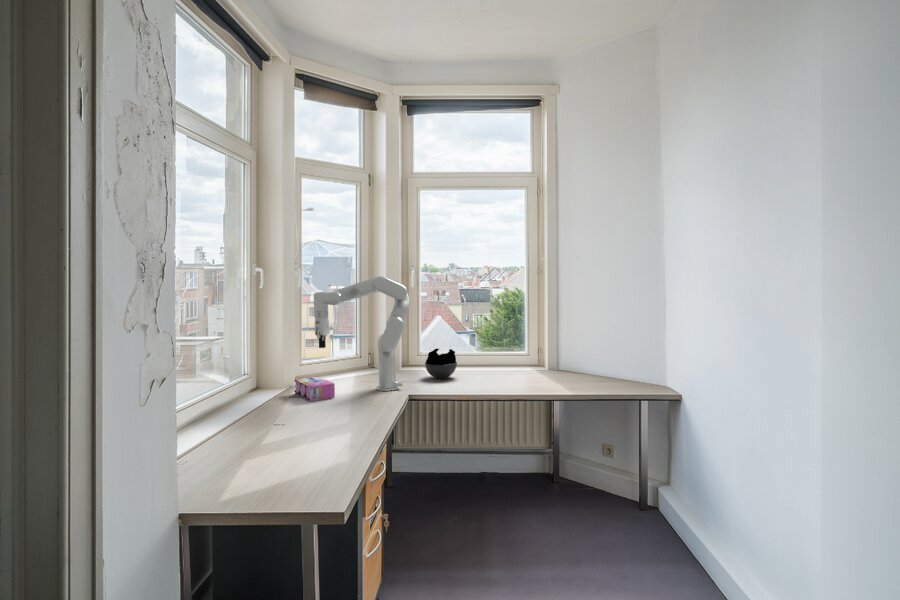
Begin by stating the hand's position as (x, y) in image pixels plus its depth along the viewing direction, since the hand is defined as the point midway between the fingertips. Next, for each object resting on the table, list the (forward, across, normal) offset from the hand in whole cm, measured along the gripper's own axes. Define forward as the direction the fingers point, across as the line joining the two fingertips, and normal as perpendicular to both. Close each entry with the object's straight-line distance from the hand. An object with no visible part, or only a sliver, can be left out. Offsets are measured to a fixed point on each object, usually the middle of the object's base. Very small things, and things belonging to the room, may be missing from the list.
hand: (322, 347), depth 277 cm
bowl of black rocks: (+26, +45, -58) cm, 78 cm away
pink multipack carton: (+21, -4, -4) cm, 21 cm away
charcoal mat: (+25, -1, +6) cm, 26 cm away
